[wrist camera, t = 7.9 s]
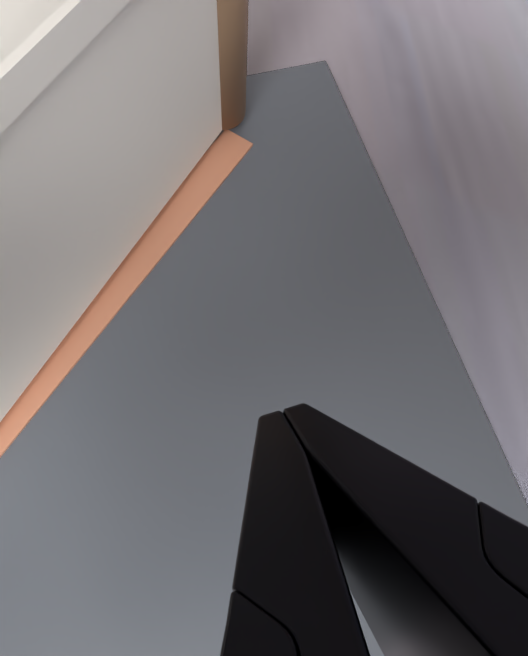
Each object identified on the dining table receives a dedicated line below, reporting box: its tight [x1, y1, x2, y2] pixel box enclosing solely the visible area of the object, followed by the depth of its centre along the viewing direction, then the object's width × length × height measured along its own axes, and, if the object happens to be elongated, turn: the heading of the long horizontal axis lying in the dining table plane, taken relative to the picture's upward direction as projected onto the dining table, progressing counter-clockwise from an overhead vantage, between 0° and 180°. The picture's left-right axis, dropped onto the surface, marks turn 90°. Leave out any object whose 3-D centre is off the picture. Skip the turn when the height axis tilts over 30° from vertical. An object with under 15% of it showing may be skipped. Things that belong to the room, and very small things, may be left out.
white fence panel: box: [0, 0, 248, 422], centre depth 10 cm, size 19×2×9 cm, turn 150°
